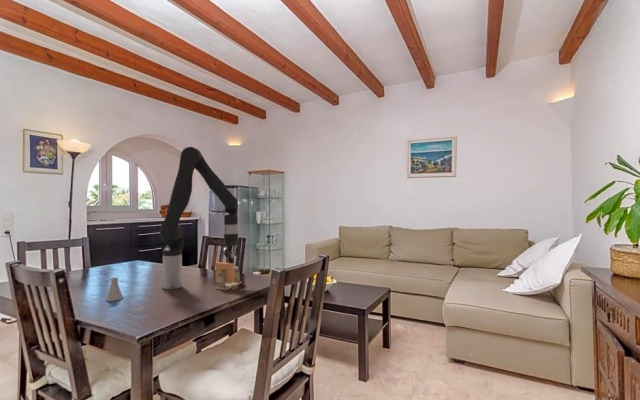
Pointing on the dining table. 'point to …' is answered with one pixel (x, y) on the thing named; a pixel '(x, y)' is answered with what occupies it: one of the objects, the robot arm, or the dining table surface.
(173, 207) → the robot arm
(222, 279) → the pipe stand
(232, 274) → the orange square plate
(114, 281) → the flask
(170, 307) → the dining table surface
